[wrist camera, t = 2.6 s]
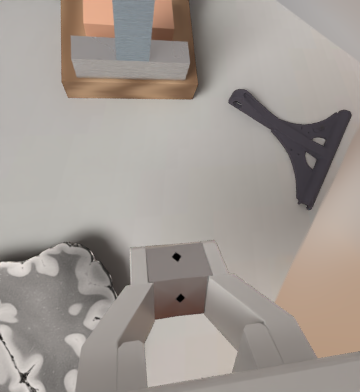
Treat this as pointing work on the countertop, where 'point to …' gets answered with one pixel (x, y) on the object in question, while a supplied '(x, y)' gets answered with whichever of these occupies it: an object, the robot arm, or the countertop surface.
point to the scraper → (130, 48)
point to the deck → (125, 87)
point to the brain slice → (49, 316)
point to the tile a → (98, 18)
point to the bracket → (300, 142)
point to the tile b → (163, 21)
